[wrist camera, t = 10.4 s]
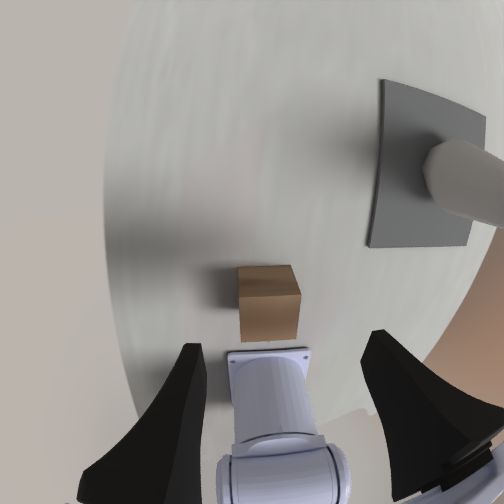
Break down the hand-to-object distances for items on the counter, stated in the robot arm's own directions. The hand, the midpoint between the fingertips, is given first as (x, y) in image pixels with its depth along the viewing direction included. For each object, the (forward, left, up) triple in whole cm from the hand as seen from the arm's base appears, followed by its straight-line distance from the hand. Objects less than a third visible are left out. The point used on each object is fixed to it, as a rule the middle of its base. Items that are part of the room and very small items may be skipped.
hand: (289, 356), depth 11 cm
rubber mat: (+6, -14, -10) cm, 19 cm away
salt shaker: (+7, -14, -10) cm, 19 cm away
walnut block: (-4, 0, -11) cm, 11 cm away
